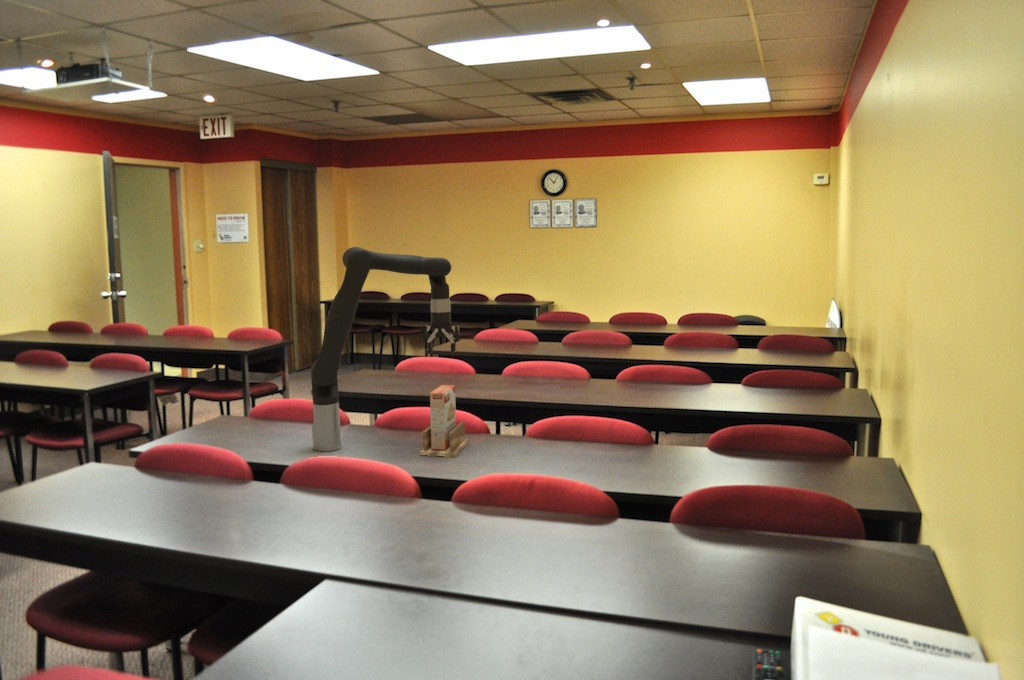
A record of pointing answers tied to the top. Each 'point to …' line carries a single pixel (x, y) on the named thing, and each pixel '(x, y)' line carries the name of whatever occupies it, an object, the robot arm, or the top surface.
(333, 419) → the robot arm
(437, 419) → the cracker box
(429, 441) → the book rack
